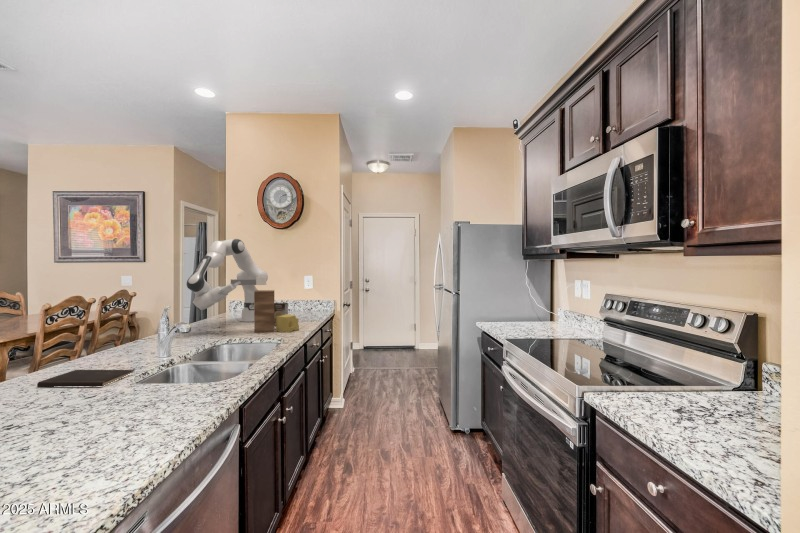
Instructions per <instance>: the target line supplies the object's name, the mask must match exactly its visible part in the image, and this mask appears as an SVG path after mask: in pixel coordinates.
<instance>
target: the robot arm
mask: <svg viewBox="0 0 800 533" xmlns="http://www.w3.org/2000/svg"><path fill="white" fill-rule="evenodd" d="M226 256H232V258H233V259H234V261H235V263H236V265H237V267H238V269H240V271H238V272H237V274H236V279H256V277H266V282H267V281H268V279H269V276H268V273H267V272H266V271H265V270H263V269H261V268H260V267H259V265H258V264H256V263H255V261H254V260H253V258H252V256H251V254H250V253H249V250H248V249H247V247H246V246H245V243H244V242H243V241H242V240H241V239H239V238H233V239H230V238H229V239H226V240H225V239H224V240H215V241H213V242H211V244H210V246H209V248H208V251H207V252H206V255H204V256H203V257H202V258H201V259H200V261H199V262H198V264H197V266H196V267H195V270H194V271H193V273H192V274H191V275H190V277H188V279H187V281H186V287H187V288H188V290H190V291H191V292H193V293H194V299H193V301H192V305H193V306H194V307H195V308H196V309H197V310H199V311H204V310H206V309H208V308H210V307H212V306H214V305H215V304H216V303H219V302H221V301H224V300H225V299H227V296H228V295H229V294H230V293H231V292H232V291H233V290H235V289H236V288H237V286H240V285H239V284H241V282H240V281H239V282H237V283H234V284H233V285H232V284H231V283H230V284H227V285H224V286H220V285H218V286H216V287H214V288H212V286H211V285H210V284H209V283H208V282H207V280H205V275H206V272H207V270H208V269H209V268H211V269H212V268H213V269H217V268H219V267H221V266H222V265H223V263H224V261H225V258H226ZM241 287H242V289H243V292H244V293H243V294H244V297H243V298H244V302H243V308H242V310H241V318H240V319H238V321H239V322H247V323H249V322H250V323H251V322H254V292H255V290H258V288H256V285H241Z"/></svg>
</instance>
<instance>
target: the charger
mask: <svg viewBox="0 0 800 533" xmlns="http://www.w3.org/2000/svg"><path fill="white" fill-rule="evenodd" d="M239 281H240V282H241V284H239V285H238V286H242V285H255V286H266V285H267V281H266V277H256V279H237V278H236V279H234V278H233V279H230V284H232V285H233V284H234V283H237V282H239Z"/></svg>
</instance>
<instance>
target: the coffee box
mask: <svg viewBox="0 0 800 533" xmlns="http://www.w3.org/2000/svg"><path fill="white" fill-rule="evenodd" d="M286 314H289V303H288V302H274V327H276V318H277V316H282V315H286Z"/></svg>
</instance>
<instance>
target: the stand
mask: <svg viewBox="0 0 800 533" xmlns="http://www.w3.org/2000/svg"><path fill="white" fill-rule="evenodd" d="M274 303H275V289H271V290H270V289H267V290H266V289H264V290H263V289H260V290H258V289H257V290H255V292H254V321H253V322H254V323H253V324H254V331H253V332H254V334H258V333H260V332H262V333H274V332H275V326H274Z"/></svg>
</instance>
